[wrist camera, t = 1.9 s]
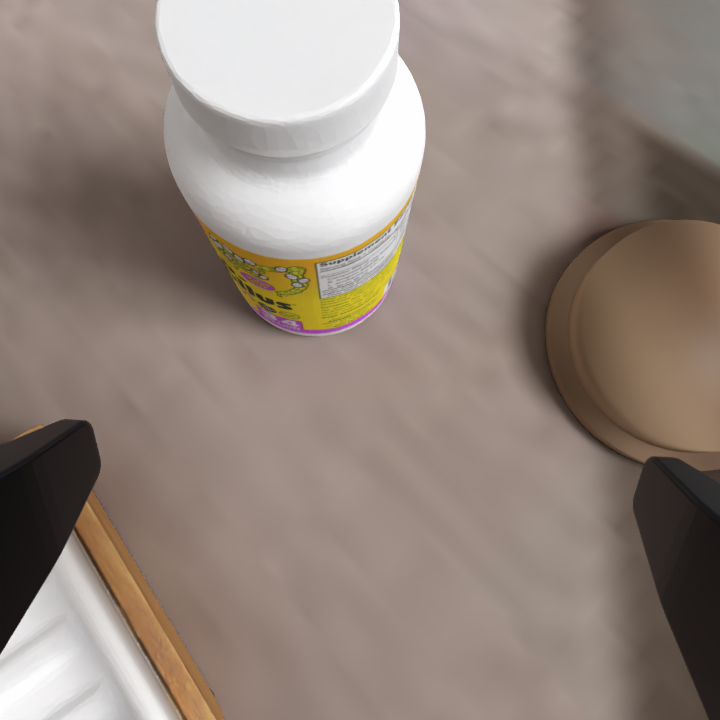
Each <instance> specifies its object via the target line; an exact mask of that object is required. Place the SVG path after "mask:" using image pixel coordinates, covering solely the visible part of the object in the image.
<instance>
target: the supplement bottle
mask: <svg viewBox="0 0 720 720" xmlns="http://www.w3.org/2000/svg"><path fill="white" fill-rule="evenodd" d="M399 28H400V13H399V4H398V0H157V3H156V10H155V32H156V38H157V43H158V48H159V51H160V54H161V57H162V60H163V62H164V64H165V66H166V69H167V71H168V73H169V76H170V78H171V80H172V86H171V89H170V92H169V95H168V98H167V102H166V107H165V113H164V144H165V151H166V155H167V159H168V163H169V166H170V169H171V172H172V175H173V177H174V179H175V181H176V183H177V186H178V188H179V190H180V191H181V193H182V195H183V196H184V198H185V200H186V202H187V203H188V205H189V207H190V208H191V210H192V211H193V213H194V215H195V216H196V218H197V220H198V221H199V223H200V225H201V226H202V228H203V230H204V232H205V233H206V235H207V237H208V239H209V240H210V242H211V244H212V246H213V247H214V249H215V250H216V252H217V254H218V255H219V257H220V259H221V260H222V262H223V263H224V265H225V267H226V269H227V270H228V272H229V274H230V275H231V277H232V279H233V280H234V282H235V284H236V285H237V287H238V289H239V290H240V292H241V293H242V295H243V296H244V298H245V299H246V301H247V302H248V303H249V305H250V306H251V307H252V308H253V310H254V311H255V312H256V313H257V314H258V315H260V316H261V317H262V318H263V319H264V320H266V321H267V322H269V323H270V324H272V325H273V326H275V327H277V328H280V329H282V330H284V331H287V332H290V333H293V334H297V335H303V336H326V335H332V334H337V333H340V332H343V331H346V330H348V329H351V328H353V327H355V326H356V325H358V324H359V323H361V322H362V321H364V320H365V319H366V318H368V317H369V316H370V315H371V314H372V313H373V312H374V311H375V310H376V309H377V308H378V307H379V306H380V304H381V303H382V302H383V300H384V298H385V297H386V295H387V293H388V291H389V289H390V287H391V284H392V282H393V279H394V276H395V272H396V269H397V264H398V260H399V256H400V252H401V248H402V243H403V239H404V234H405V231H406V226H407V221H408V217H409V213H410V209H411V204H412V200H413V196H414V193H415V189H416V185H417V181H418V177H419V173H420V168H421V163H422V159H423V154H424V148H425V116H424V110H423V105H422V100H421V97H420V94H419V91H418V89H417V86H416V84H415V82H414V79H413V77H412V75H411V73H410V71H409V69H408V68H407V66H406V65H405V63H404V62H403V60H402V59H401V57H400V56H399V55H398V42H399Z"/></svg>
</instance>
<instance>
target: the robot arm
mask: <svg viewBox="0 0 720 720" xmlns="http://www.w3.org/2000/svg"><path fill="white" fill-rule="evenodd" d="M100 468H101V460H100V455H99V451H98V447H97V443H96V439H95V435H94V431H93V428H92V425H91V424H90V423H89V422H87V421H85V420H71V419H63V420H60V421H57V422H55V423H52V424H50V425H47V426H45V427H43V428H40V429H38V430H35V431H33V432H30V433H28V434H26V435H23V436H21V437H18V438H16V439H13V440H11V441H9V442H6V443H4V444H1V445H0V655H1V653H2V651H3V650H4V648H5V646H6V645H7V643H8V641H9V640H10V638H11V637H12V635H13V633H14V632H15V630H16V628H17V627H18V625H19V623H20V622H21V620H22V618H23V617H24V615H25V613H26V612H27V610H28V609H29V607H30V605H31V604H32V602H33V600H34V599H35V597H36V595H37V594H38V592H39V590H40V589H41V587H42V585H43V584H44V582H45V581H46V579H47V577H48V576H49V574H50V572H51V571H52V569H53V567H54V565H55V564H56V562H57V560H58V558H59V557H60V555H61V553H62V551H63V549H64V547H65V545H66V543H67V541H68V539H69V537H70V535H71V533H72V531H73V529H74V527H75V525H76V522H77V520H78V518H79V516H80V514H81V512H82V510H83V508H84V506H85V503H86V501H87V499H88V497H89V495H90V493H91V491H92V489H93V487H94V484H95V482H96V480H97V478H98V476H99V473H100ZM633 511H634V515H635V518H636V522H637V525H638V529H639V532H640V535H641V539H642V542H643V546H644V549H645V553H646V556H647V560H648V563H649V566H650V570H651V573H652V577H653V580H654V584H655V587H656V590H657V593H658V596H659V599H660V602H661V605H662V608H663V610H664V613H665V615H666V618H667V620H668V623H669V625H670V628H671V630H672V632H673V635H674V637H675V640H676V642H677V644H678V647H679V649H680V652H681V654H682V656H683V659H684V661H685V664H686V666H687V668H688V671H689V673H690V676H691V678H692V681H693V683H694V685H695V688H696V690H697V693H698V695H699V697H700V700H701V702H702V705H703V707H704V709H705V712H706V714H707V717H708V719H709V720H720V483H719V482H718V481H716V480H714V479H713V478H711V477H709V476H708V475H706V474H704V473H702V472H701V471H699V470H697V469H696V468H694V467H692V466H691V465H689V464H687V463H686V462H684V461H682V460H681V459H678V458H675V457H660V456H651V457H649V458H648V459H647V460H646V461H645V463H644V466H643V469H642V472H641V475H640V478H639V481H638V484H637V487H636V491H635V494H634V498H633Z"/></svg>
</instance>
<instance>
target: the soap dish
mask: <svg viewBox="0 0 720 720" xmlns="http://www.w3.org/2000/svg"><path fill="white" fill-rule="evenodd" d="M43 427H44V426H43V425H39V426H36V427H34V428H31V429H29V430H27V431H26V432H24V433H22V434H21V435H19V436H17V437H16V438H18V437H21V436H23V435H26V434H28V433H30V432H33V431H35V430H38V429H40V428H43ZM16 438H14V439H16ZM12 440H13V439H12ZM10 441H11V440H10ZM0 720H225V718H224V716H223V713H222V711H221V709H220V707H219V705H218V703H217V701H216V699H215V696H214V693H213V692H212V690H211V689H210V688H209V687H208V686H207V684H206V682H205V681H204V679H203V677H202V675H201V674H200V672H199V670H198V668H197V667H196V665H195V663H194V662H193V660H192V658H191V657H190V655H189V653H188V652H187V650H186V648H185V646H184V645H183V643H182V641H181V640H180V638H179V636H178V635H177V633H176V631H175V629H174V628H173V626H172V624H171V623H170V621H169V619H168V618H167V616H166V614H165V613H164V611H163V609H162V608H161V606H160V604H159V603H158V601H157V599H156V598H155V596H154V594H153V593H152V591H151V589H150V587H149V586H148V584H147V582H146V581H145V579H144V577H143V576H142V574H141V572H140V571H139V569H138V567H137V566H136V564H135V562H134V560H133V559H132V557H131V555H130V554H129V552H128V550H127V548H126V547H125V545H124V543H123V542H122V540H121V538H120V537H119V535H118V533H117V532H116V530H115V528H114V527H113V525H112V523H111V522H110V520H109V518H108V516H107V515H106V513H105V511H104V510H103V508H102V506H101V505H100V503H99V501H98V500H97V498H96V496H95V494H94V493H93V491H91V493H90V495H89V497H88V499H87V501H86V503H85V506H84V508H83V510H82V512H81V514H80V516H79V518H78V520H77V522H76V525H75V527H74V529H73V531H72V533H71V535H70V537H69V539H68V541H67V543H66V545H65V547H64V549H63V551H62V553H61V555H60V557H59V558H58V560H57V562H56V564H55V565H54V567H53V569H52V571H51V572H50V574H49V576H48V577H47V579H46V581H45V582H44V584H43V585H42V587H41V589H40V590H39V592H38V594H37V595H36V597H35V599H34V600H33V602H32V604H31V605H30V607H29V609H28V610H27V612H26V613H25V615H24V617H23V618H22V620H21V622H20V623H19V625H18V627H17V628H16V630H15V632H14V633H13V635H12V637H11V638H10V640H9V641H8V643H7V645H6V646H5V648H4V650H3V651H2V653H1V655H0Z"/></svg>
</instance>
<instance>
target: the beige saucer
mask: <svg viewBox="0 0 720 720" xmlns="http://www.w3.org/2000/svg"><path fill="white" fill-rule="evenodd" d="M545 346H546V352H547V358H548V363H549V366H550V370H551V373H552V376H553V379H554V381H555V384H556V386H557V388H558V390H559V392H560V394H561V396H562V398H563V399H564V401H565V403H566V404H567V406H568V408H569V409H570V410H571V412H572V413H573V414H574V415H575V417H576V418H577V419H578V421H579V422H580V423H581V424H582V425H583V426H584V427H585V428H586V429H587V430H588V431H589V432H590V433H591V434H592V435H593V436H595V437H596V438H597V439H598V440H600V441H601V442H602V443H603V444H605V445H606V446H607V447H609V448H611V449H612V450H614V451H616V452H617V453H619V454H621V455H622V456H625V457H627V458H629V459H631V460H634V461H636V462H638V463H641V464H644V463H645V461H646V460H647V459H648V458H649V457H651V456H660V457H675V458H678V459H681V460H682V461H684V462H686V463H687V464H689V465H691V466H692V467H694V468H696V469H697V470H699V471H708V470H717V469H720V225H719V224H715V223H711V222H705V221H699V220H650V221H642V222H637V223H633V224H628V225H626V226H623V227H620V228H617V229H615V230H613V231H611V232H609V233H607V234H605V235H603V236H601V237H600V238H598V239H597V240H595V241H594V242H593V243H591V244H590V245H589V246H587V247H586V248H585V249H584V250H583V251H582V252H581V253H580V254H579V255H578V256H577V257H576V258H575V259H574V260H573V261H572V262H571V263H570V264H569V266H568V267H567V268H566V269H565V271H564V272H563V274H562V275H561V277H560V279H559V280H558V282H557V284H556V286H555V288H554V291H553V293H552V296H551V298H550V302H549V306H548V310H547V314H546V323H545Z"/></svg>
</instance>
